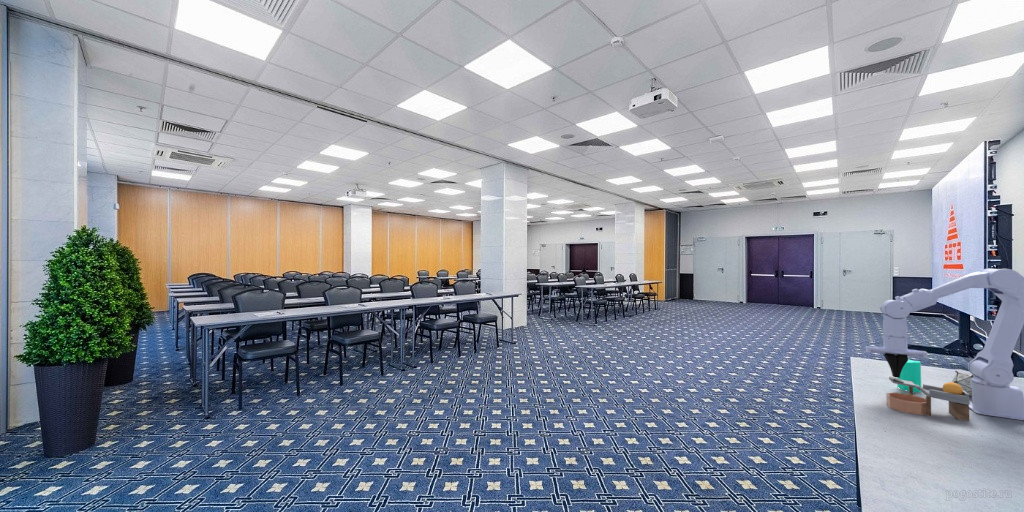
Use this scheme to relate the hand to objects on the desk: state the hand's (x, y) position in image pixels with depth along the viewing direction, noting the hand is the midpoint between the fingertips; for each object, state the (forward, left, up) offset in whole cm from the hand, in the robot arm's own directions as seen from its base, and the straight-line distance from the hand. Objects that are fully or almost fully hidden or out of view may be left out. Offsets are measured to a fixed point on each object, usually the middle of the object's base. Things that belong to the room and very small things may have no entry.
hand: (895, 376), depth 127 cm
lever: (-6, +5, -2) cm, 8 cm away
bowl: (-1, +9, -8) cm, 12 cm away
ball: (-10, +9, 0) cm, 14 cm away
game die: (-22, -18, -8) cm, 30 cm away
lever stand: (-8, +5, -8) cm, 12 cm away
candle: (-7, -16, -8) cm, 19 cm away
